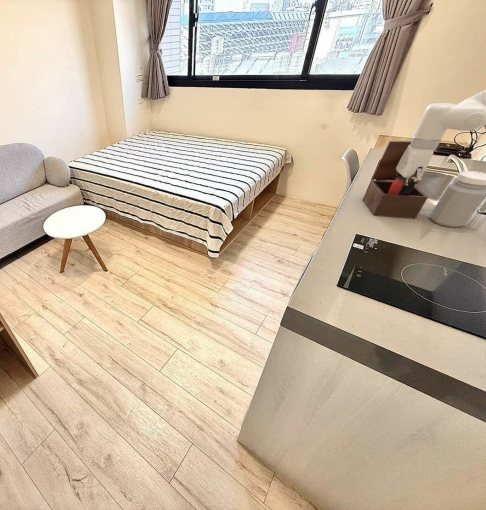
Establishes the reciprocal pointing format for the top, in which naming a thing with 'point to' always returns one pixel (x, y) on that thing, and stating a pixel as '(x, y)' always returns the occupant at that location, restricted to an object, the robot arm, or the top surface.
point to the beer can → (397, 185)
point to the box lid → (390, 161)
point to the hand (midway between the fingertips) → (400, 190)
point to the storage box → (393, 201)
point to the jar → (460, 199)
